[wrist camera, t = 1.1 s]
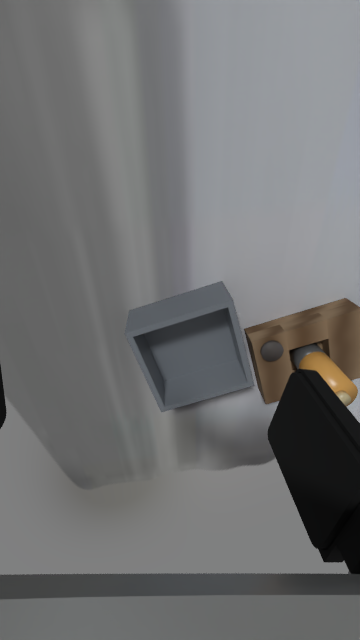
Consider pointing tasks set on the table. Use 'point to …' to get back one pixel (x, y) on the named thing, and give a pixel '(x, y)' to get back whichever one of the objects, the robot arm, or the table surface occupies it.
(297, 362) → the cylinder
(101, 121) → the table surface
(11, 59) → the table surface
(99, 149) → the table surface
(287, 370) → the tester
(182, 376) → the bin
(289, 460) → the robot arm
